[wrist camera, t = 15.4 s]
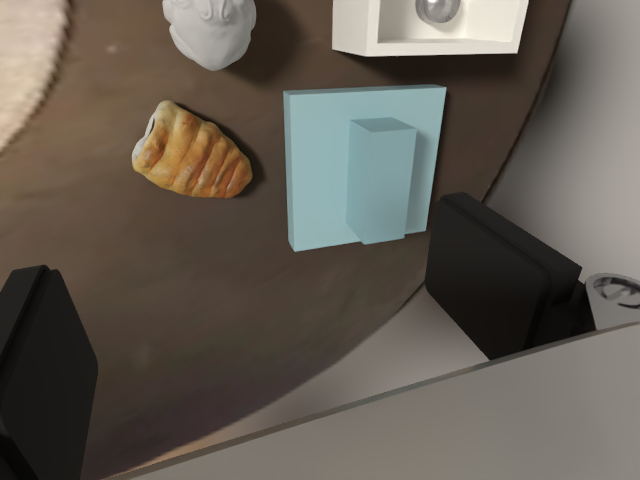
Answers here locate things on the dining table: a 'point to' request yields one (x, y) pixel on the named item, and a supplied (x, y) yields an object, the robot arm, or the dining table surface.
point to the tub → (426, 28)
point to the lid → (360, 162)
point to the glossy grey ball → (437, 10)
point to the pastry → (190, 155)
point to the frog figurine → (211, 29)
